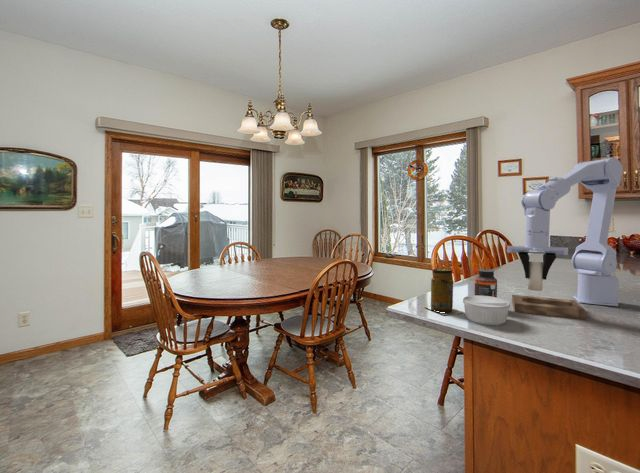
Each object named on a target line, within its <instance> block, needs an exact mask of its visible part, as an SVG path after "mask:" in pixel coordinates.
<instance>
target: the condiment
mask: <svg viewBox="0 0 640 473" xmlns="http://www.w3.org/2000/svg"><path fill="white" fill-rule="evenodd" d="M430 281H431V282H430V307H431V309H432V310H435V311H433V312H435V313H437V312H436V311H439V313H437V314H440V315H442V316H450V315H458V314H465V311H464V312H463V311H461V310H458V309H455V308H453V307H454V306H453V305H454V280H453V270H452V269H449V268H441V267H438V268H437V267H436V268H434V269H432V278H431V280H430ZM440 312H445V313H440Z"/></svg>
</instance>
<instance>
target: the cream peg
mask: <svg viewBox="0 0 640 473" xmlns="http://www.w3.org/2000/svg"><path fill="white" fill-rule="evenodd" d="M543 280H544V279H543V261H534V260H533V261H530V260H529V278H527V289H528V290H529V291H535V292H540V291H543V286H544V284H543Z"/></svg>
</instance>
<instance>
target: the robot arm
mask: <svg viewBox="0 0 640 473" xmlns="http://www.w3.org/2000/svg"><path fill="white" fill-rule="evenodd" d="M623 168H624V167H623V165H622V164H621V161H620V159H618V158H617V157H609V158H604V159H597V160H591V161H590V160H589V161H580V162H579V163H577V164H575V165H574V166H573V168H572V169H571V170H570V171H569V172H567V173H566V174H565V175H563V176H562V177H559V176H555V177H550V178H549V179H548V180H549V181H547V182H545V183H544V184H542V185H539V186H538V187H537V188H536V189H535V190H529V191H527V192H526V193H525V194H524V195H523V197H522V200H521V206H522V208H523V214H524V216H525V233H524V234H525V236H524V240H525V241H524V243H525V244H524V245H507V251H506V252H507V253H508V254H513V253H515V254H517V255H518V257H519V259H520V262H521V264H522V267H523V272H524V278H525V279H528V278H529V262H530V254H535V255H537V254H538V255H540V254H542V262H543V280H545V281H546V280H547V277H548V274H549V271H550V268H551V267H552V265H553V264H554V262H555V260H556V258H557V255H559V256H560V255H561V256H568V255H569V248H568V247H559V246H558V247H557V246H550V225H551V224H550V221H551V210H552V209H554V208H555V206H556V204H557V202H558V201H559V200H560V199H561V198H563V197H565V196H567V195H568V194H569V193H570V191H571V187H573V186H574V185H576V184H578V183H580V184H581V185H582V186H583V187H584V188H586V189H588V190H591V192H592V193H593V194H592V201H591V206H590V213H589V218H588V223H587V227H586V228H587V230H586V235H585V241H584V242H582V243H581V244H579V245H577V246H576V247H575V250H574V251H575V252H574V254H573V255H572V256H571V257H572V258H571V261H570V262H571V265H572V268H573V269H574V270H575V272H576V273H577V289H576V290H577V294H576V295H573V296H572V298H573V299H574V300H575V301H576V302H577V303H578V304H579V303H580V304H591V305H598V306H599V305H602V306H609V307H610V306H612V307H619V285H620V284H619V279H618V277H617V276H616V275H614V274H613V273H614V272H615V271H616V269H617V266H618V261H617V250H615V249H614V248H613V247H611V246H610V245H609V244H608V238H609V233H610V229H611V228H610V226H611V222H612V215H613V211H614V204H615V198H616V193H617V188H618V187H620V185H621V182H622V174H623Z"/></svg>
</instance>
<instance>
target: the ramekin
mask: <svg viewBox="0 0 640 473" xmlns="http://www.w3.org/2000/svg"><path fill="white" fill-rule="evenodd" d="M462 303H463V304H464V307H463V308H464V314H465V317H466V318H467V320H469V321H471V322H473V323H476V324H479V325H486V326H500V325H504V324H505V323H506V321H507V319H508V314H509V310H510V308H511V302H509V301H508V300H506V299H504V298H501V297H498V296H497V297H491V296H479V295H475V294H474V295H467V296H465V297H464V298H463V299H462Z"/></svg>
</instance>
